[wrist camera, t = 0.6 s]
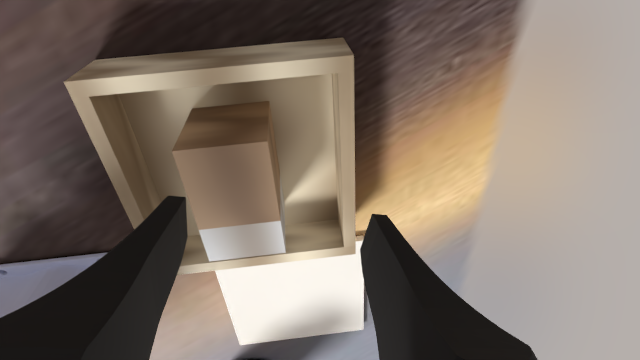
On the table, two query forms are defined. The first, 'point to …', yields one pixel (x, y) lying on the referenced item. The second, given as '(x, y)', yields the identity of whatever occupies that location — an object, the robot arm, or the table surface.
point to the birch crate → (227, 89)
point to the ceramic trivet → (295, 298)
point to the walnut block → (233, 179)
